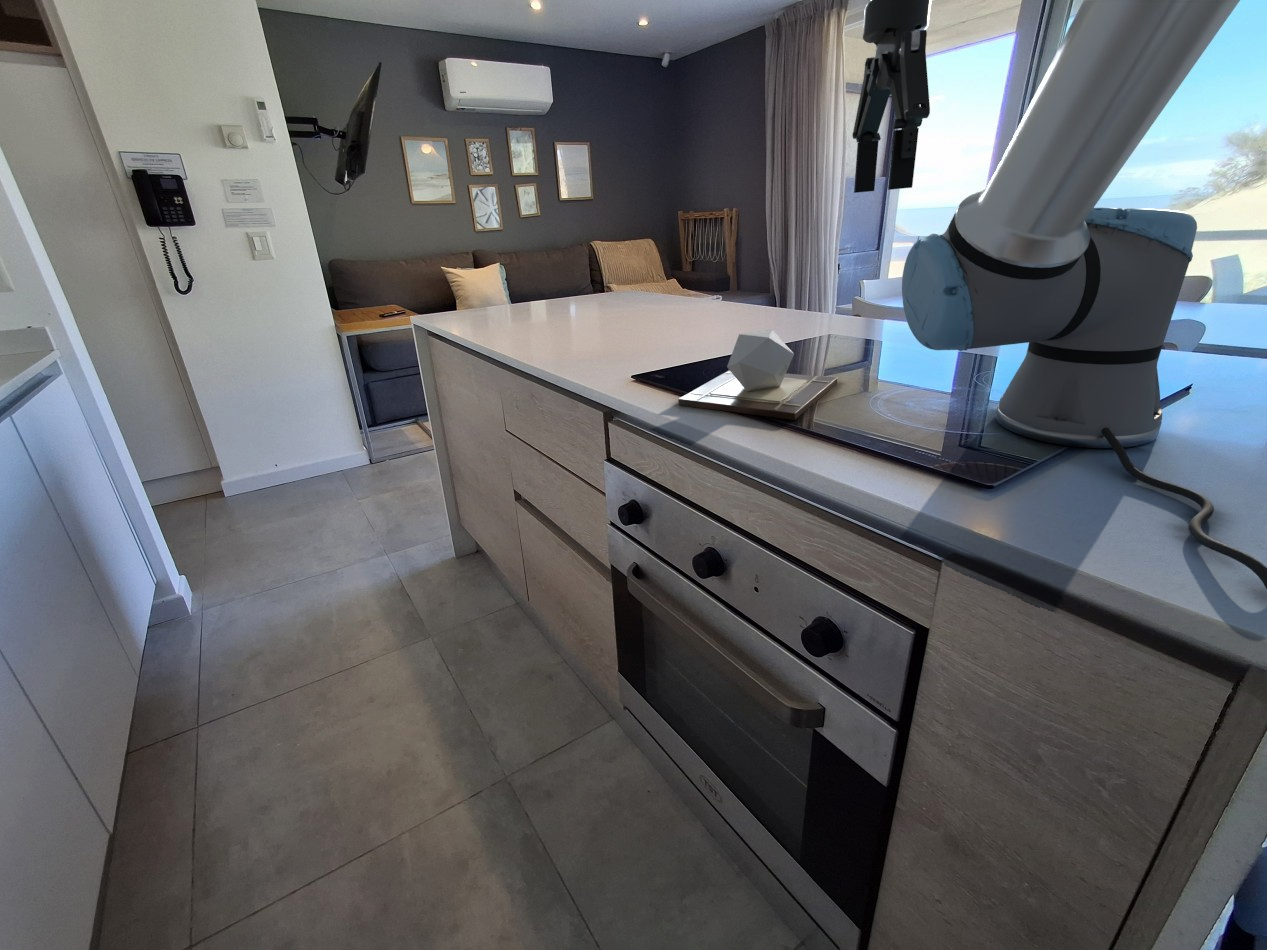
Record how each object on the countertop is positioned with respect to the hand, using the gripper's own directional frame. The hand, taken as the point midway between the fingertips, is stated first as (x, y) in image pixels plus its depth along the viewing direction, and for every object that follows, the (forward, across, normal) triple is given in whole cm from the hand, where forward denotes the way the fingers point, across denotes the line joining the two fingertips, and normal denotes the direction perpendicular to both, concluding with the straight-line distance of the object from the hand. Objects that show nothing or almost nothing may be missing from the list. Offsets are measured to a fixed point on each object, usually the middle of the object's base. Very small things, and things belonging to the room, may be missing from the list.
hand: (880, 190), depth 78 cm
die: (+26, +4, -17) cm, 31 cm away
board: (+27, +4, -17) cm, 32 cm away
